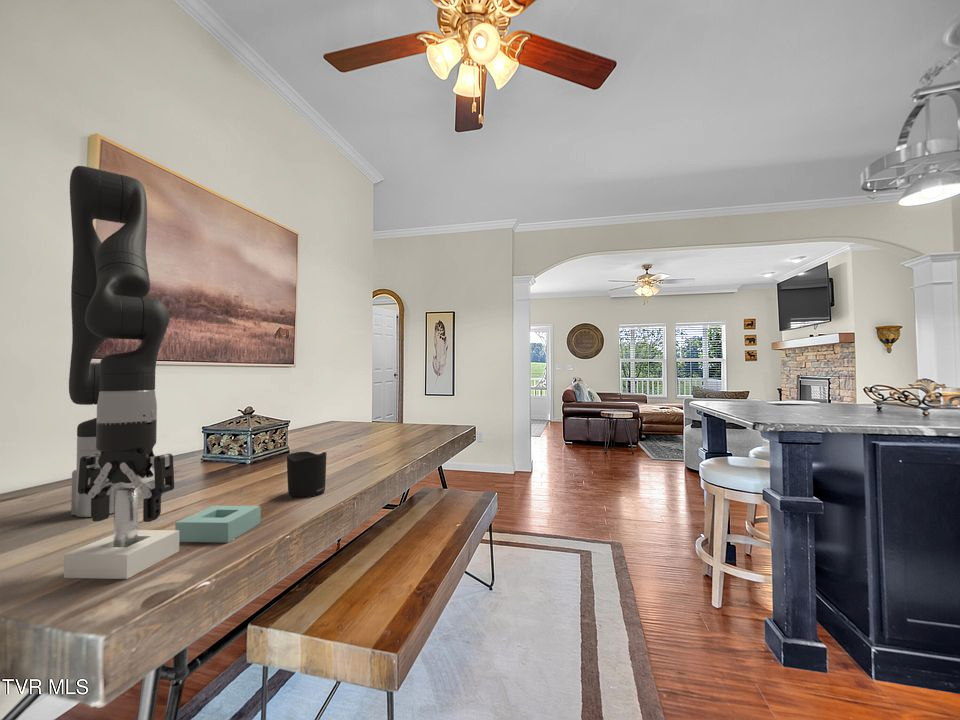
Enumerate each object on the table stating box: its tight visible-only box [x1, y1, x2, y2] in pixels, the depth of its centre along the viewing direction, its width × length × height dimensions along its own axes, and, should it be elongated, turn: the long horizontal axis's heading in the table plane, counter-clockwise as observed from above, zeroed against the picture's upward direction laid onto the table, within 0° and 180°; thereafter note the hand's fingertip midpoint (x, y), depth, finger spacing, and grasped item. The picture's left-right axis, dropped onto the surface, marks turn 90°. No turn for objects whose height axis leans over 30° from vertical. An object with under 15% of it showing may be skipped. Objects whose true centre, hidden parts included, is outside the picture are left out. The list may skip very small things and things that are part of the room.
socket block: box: [63, 529, 180, 580], centre depth 68 cm, size 10×10×4 cm
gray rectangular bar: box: [113, 485, 139, 547], centre depth 68 cm, size 3×3×12 cm
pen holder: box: [286, 451, 327, 499], centre depth 109 cm, size 9×9×10 cm
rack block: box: [174, 505, 262, 543], centre depth 82 cm, size 10×10×4 cm
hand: (126, 520), depth 68 cm, fingers open, 8 cm apart
